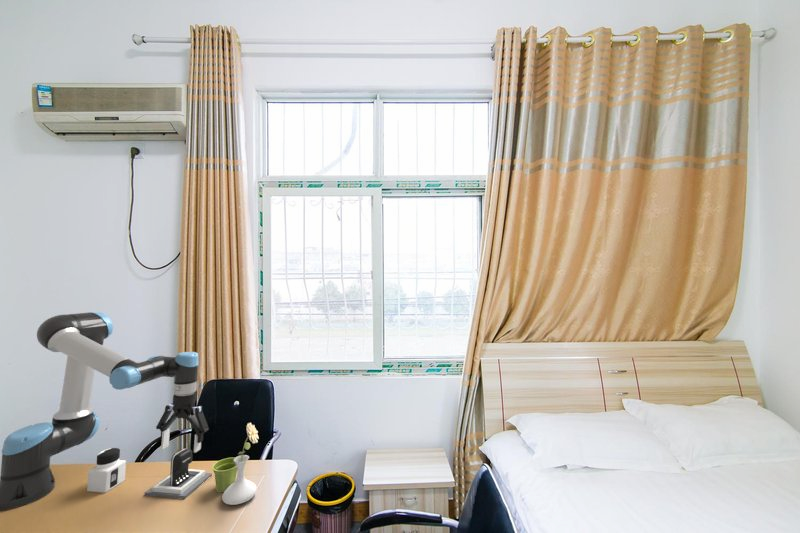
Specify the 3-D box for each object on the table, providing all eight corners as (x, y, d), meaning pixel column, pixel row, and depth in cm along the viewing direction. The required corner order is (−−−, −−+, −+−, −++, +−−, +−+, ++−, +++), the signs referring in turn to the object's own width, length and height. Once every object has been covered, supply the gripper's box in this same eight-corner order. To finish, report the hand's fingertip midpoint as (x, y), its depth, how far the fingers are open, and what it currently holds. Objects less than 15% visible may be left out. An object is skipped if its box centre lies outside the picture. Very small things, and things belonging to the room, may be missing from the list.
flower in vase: (242, 511, 109) (246, 435, 110) (214, 506, 111) (217, 432, 112) (266, 487, 121) (268, 420, 123) (239, 483, 124) (242, 417, 125)
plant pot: (205, 492, 118) (206, 468, 118) (225, 478, 127) (226, 455, 127) (224, 497, 115) (226, 473, 116) (244, 482, 124) (245, 459, 125)
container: (125, 480, 124) (127, 446, 125) (105, 493, 117) (107, 456, 118) (107, 479, 125) (109, 445, 126) (86, 491, 117) (88, 455, 118)
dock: (144, 495, 116) (144, 488, 116) (175, 472, 130) (175, 466, 130) (184, 499, 114) (185, 491, 114) (211, 476, 128) (212, 469, 128)
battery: (177, 488, 118) (179, 456, 119) (168, 487, 119) (170, 455, 120) (192, 477, 125) (194, 447, 126) (184, 476, 126) (186, 446, 127)
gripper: (147, 394, 122) (142, 451, 120) (207, 398, 119) (203, 457, 118) (163, 387, 129) (159, 441, 128) (221, 392, 126) (217, 447, 125)
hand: (180, 449), depth 123 cm, fingers open, 13 cm apart
